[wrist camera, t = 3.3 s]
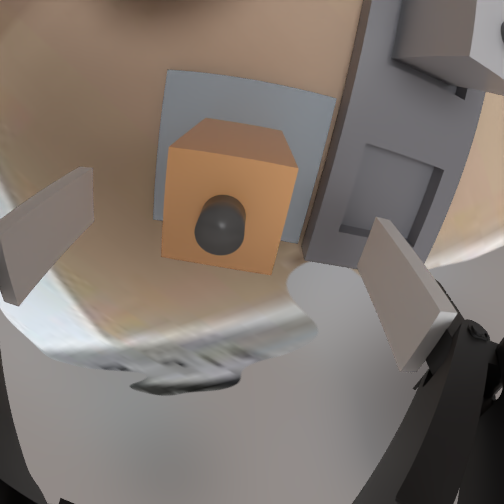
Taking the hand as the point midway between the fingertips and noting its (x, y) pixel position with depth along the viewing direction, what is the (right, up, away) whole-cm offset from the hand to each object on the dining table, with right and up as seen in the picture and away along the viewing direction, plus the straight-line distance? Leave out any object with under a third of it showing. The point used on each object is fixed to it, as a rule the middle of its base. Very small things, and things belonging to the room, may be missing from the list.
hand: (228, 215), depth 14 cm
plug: (0, +5, +7) cm, 8 cm away
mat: (0, +5, +7) cm, 9 cm away
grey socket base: (+12, +8, +5) cm, 15 cm away
